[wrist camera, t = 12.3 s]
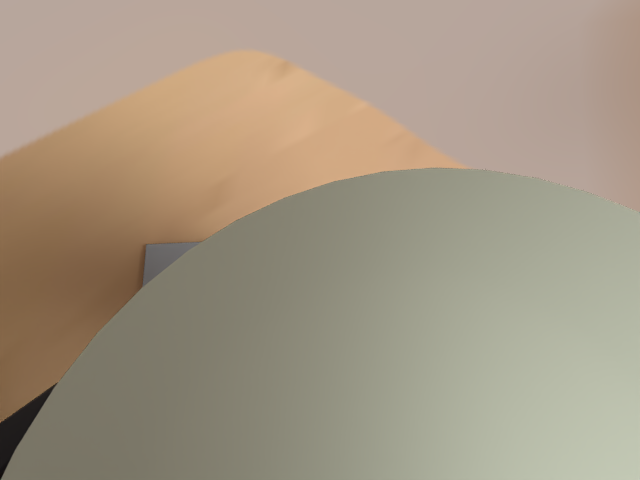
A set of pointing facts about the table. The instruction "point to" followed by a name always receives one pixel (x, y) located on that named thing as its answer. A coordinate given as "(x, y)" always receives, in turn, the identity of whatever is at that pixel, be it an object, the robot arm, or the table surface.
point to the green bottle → (370, 344)
